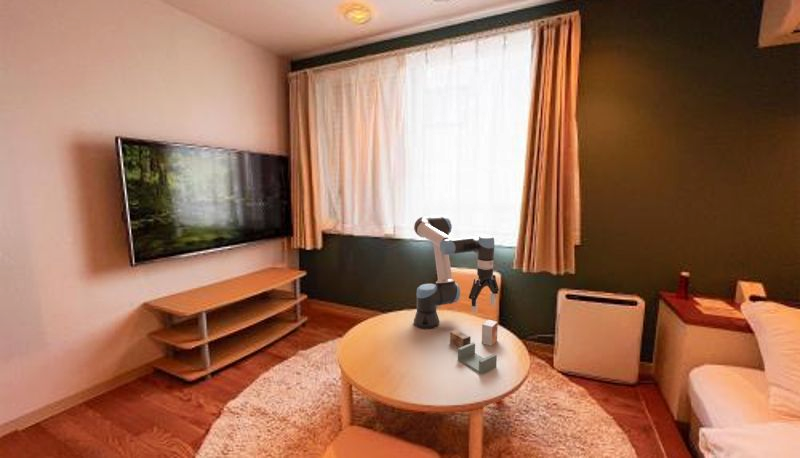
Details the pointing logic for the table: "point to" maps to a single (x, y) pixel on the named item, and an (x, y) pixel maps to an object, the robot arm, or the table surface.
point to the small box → (489, 332)
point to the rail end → (459, 338)
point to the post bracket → (476, 359)
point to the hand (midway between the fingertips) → (483, 308)
